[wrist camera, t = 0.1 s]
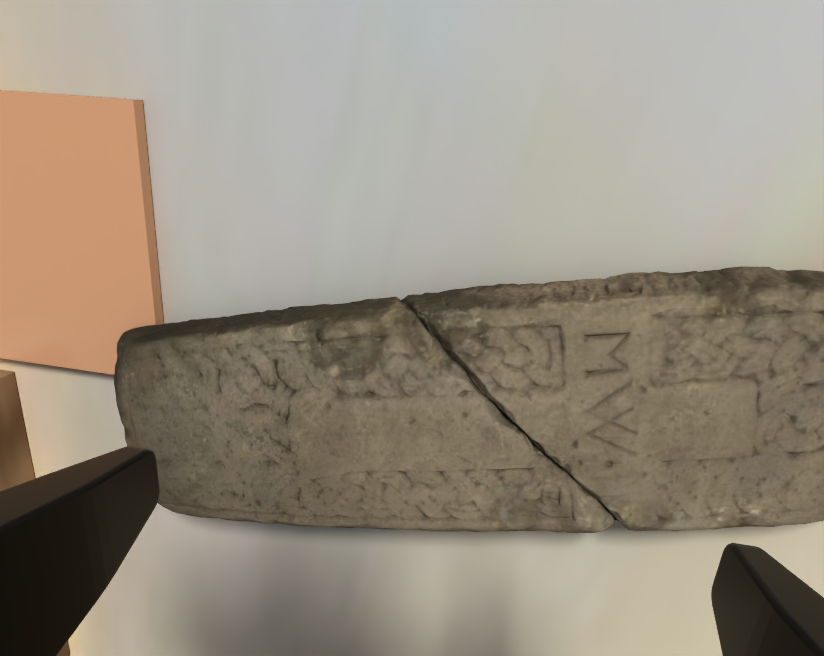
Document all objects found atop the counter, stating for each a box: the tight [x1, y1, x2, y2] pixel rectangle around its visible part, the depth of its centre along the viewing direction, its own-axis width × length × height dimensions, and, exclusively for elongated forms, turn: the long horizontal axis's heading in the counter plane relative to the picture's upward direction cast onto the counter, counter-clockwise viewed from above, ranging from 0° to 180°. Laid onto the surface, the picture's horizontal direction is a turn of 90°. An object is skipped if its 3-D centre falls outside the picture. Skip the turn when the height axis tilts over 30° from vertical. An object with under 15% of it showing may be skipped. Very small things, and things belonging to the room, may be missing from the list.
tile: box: [0, 90, 164, 375], centre depth 25 cm, size 12×12×1 cm
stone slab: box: [114, 267, 824, 533], centre depth 23 cm, size 10×3×30 cm
